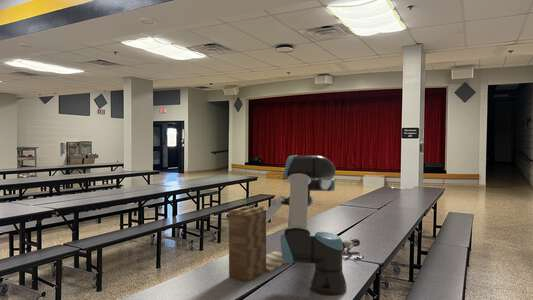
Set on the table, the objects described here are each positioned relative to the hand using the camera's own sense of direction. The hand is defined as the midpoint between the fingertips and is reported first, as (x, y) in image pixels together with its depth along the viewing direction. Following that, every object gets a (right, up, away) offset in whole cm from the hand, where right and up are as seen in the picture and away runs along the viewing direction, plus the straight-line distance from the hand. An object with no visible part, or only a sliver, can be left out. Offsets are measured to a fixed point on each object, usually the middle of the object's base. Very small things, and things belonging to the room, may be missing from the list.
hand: (274, 202), depth 191 cm
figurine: (+35, -31, +14) cm, 48 cm away
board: (-1, -31, 0) cm, 31 cm away
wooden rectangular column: (-13, -32, -18) cm, 39 cm away
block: (-1, -5, -1) cm, 5 cm away
